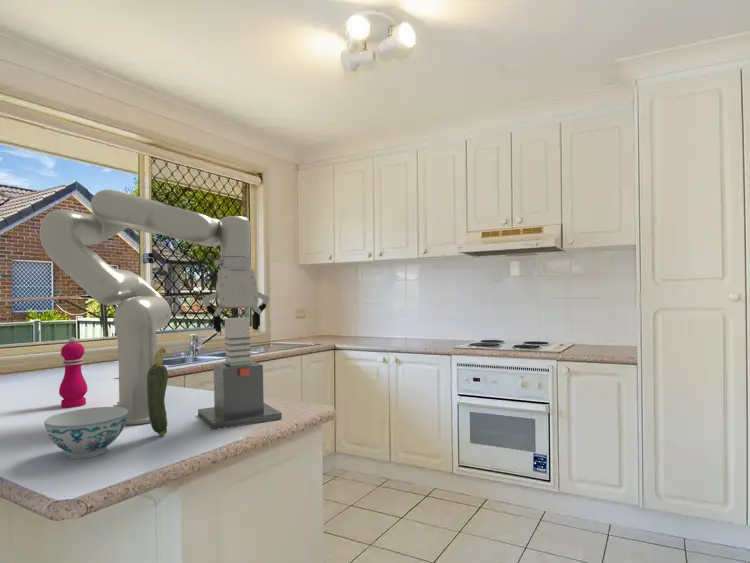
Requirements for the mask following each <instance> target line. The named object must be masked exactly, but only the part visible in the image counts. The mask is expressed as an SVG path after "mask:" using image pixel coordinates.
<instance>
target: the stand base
mask: <svg viewBox="0 0 750 563" xmlns="http://www.w3.org/2000/svg"><path fill="white" fill-rule="evenodd" d="M213 397H214V400H213V402H214V404H213V406H212V407H205V408H204V407H203V408H198V409H197V416H198V417H199V418H201V419H202V421H203V422H205V424H207V425H208V427H209V428H211V430H213V429H214V430H219V429H218V428H221V429H225V428H224V427H227V428H232V427H231V426H233V427H239V426H238V425H240V426H245V425H251V424H256V423H257V424H258V423H265V422H271V421H278V420H281V419H282V417H283V416H282V414H283V413H282V412H281V411H280V410H277V409H276V408H274V407H273V406H271V405H269V404H267V403H265V402H264V400H265V399H264V365H263V364H261V363H258V362H257V361H256V362H255V361H253V360H250V365H246V366H235V367H228V366H226V362H224V363H213ZM282 420H283V419H282Z"/></svg>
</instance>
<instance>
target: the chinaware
mask: <svg viewBox="0 0 750 563" xmlns="http://www.w3.org/2000/svg"><path fill="white" fill-rule="evenodd" d="M127 417H128V409H126V408H122V407H113V406H96V407H88V408H81V409H79V408H78V409H73V410H68V411H65V412H60V413H56V414H54V415H51V416H49V417H47V418H46V419H44V421H43V423H44V426H45V430H46V433H47V436H48V437H49V439H50V440H51V441H52V443H53V444H54V445H56V447H58V448H59V449H61V450H63V451H65V452H67V453H68V454H69V457H70V458H73V459H85V458H91V457H96V456H99V455H102V454H104V453H106V452H107V450H108V446H109V445H111V444H112V443H114V442H115V441H116V440H117V438H118V437H119V436H120V435H121V433H122V432H123V430H124V428H125V426H126V425H125V424H126V420H127Z"/></svg>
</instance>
